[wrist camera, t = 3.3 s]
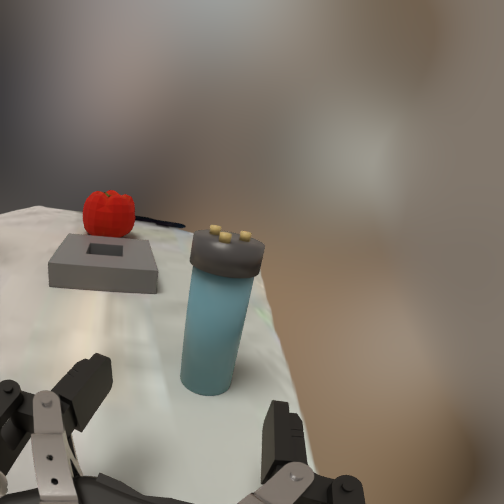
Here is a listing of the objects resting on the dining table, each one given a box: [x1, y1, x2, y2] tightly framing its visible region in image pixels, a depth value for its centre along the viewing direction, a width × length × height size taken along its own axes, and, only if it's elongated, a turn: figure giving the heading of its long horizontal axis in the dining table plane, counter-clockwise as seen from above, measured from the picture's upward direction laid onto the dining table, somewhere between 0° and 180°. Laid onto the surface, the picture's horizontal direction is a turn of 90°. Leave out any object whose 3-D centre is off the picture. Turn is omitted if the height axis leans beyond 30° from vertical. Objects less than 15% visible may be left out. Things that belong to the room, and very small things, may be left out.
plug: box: [180, 225, 265, 396], centre depth 22 cm, size 5×5×14 cm
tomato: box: [83, 190, 135, 238], centre depth 58 cm, size 14×13×10 cm
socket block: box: [48, 234, 158, 294], centre depth 40 cm, size 16×16×4 cm
